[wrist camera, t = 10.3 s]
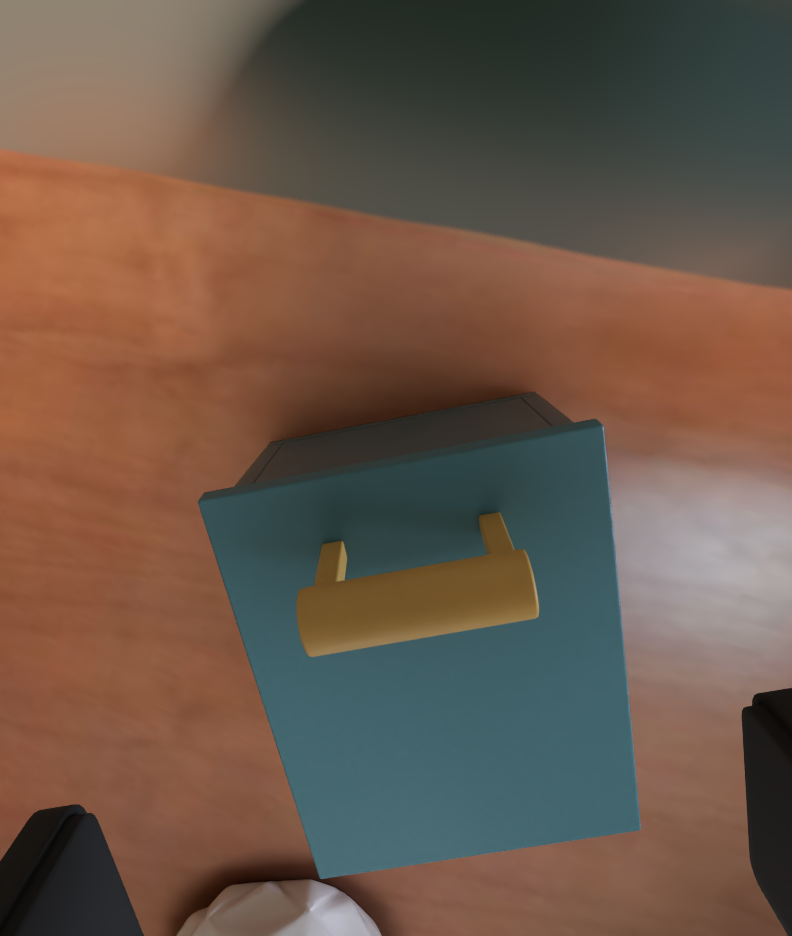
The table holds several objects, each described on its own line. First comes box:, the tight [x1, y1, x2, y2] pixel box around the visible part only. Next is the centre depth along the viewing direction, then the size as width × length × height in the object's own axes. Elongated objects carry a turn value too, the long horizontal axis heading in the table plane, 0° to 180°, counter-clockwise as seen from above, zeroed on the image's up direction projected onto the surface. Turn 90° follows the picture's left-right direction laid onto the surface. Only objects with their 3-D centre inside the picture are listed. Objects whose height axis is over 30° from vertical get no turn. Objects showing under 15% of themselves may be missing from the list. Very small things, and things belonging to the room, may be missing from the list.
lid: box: [198, 419, 641, 879], centre depth 21 cm, size 16×13×6 cm
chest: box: [234, 392, 574, 487], centre depth 29 cm, size 16×13×9 cm
